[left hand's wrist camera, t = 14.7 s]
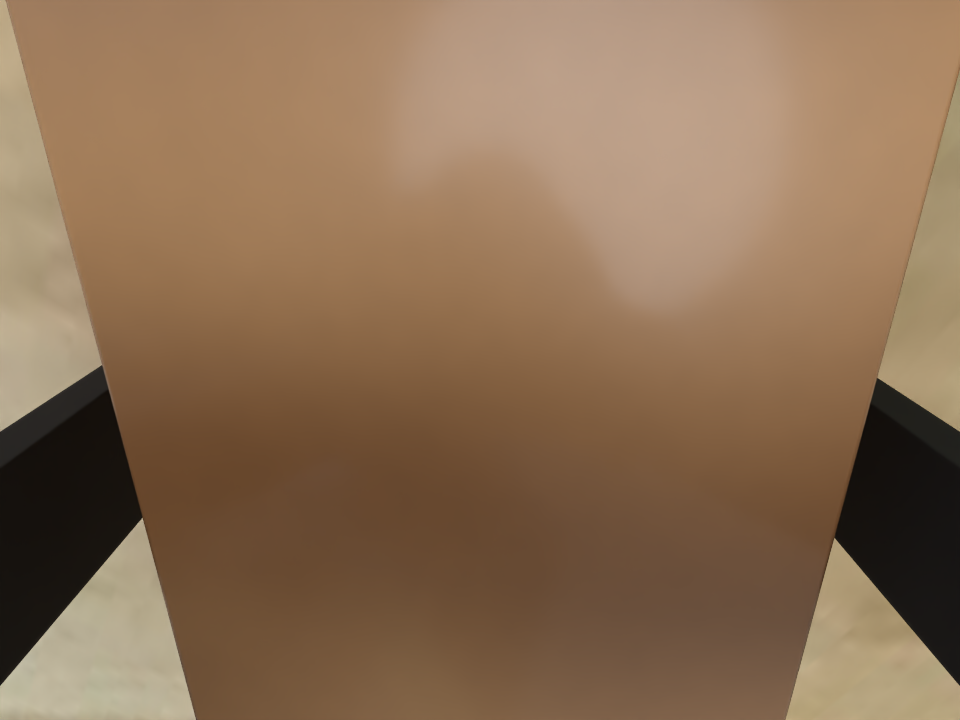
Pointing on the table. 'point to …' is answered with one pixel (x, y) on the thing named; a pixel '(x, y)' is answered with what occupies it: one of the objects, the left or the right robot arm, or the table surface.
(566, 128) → the box
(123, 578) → the table surface
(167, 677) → the table surface
